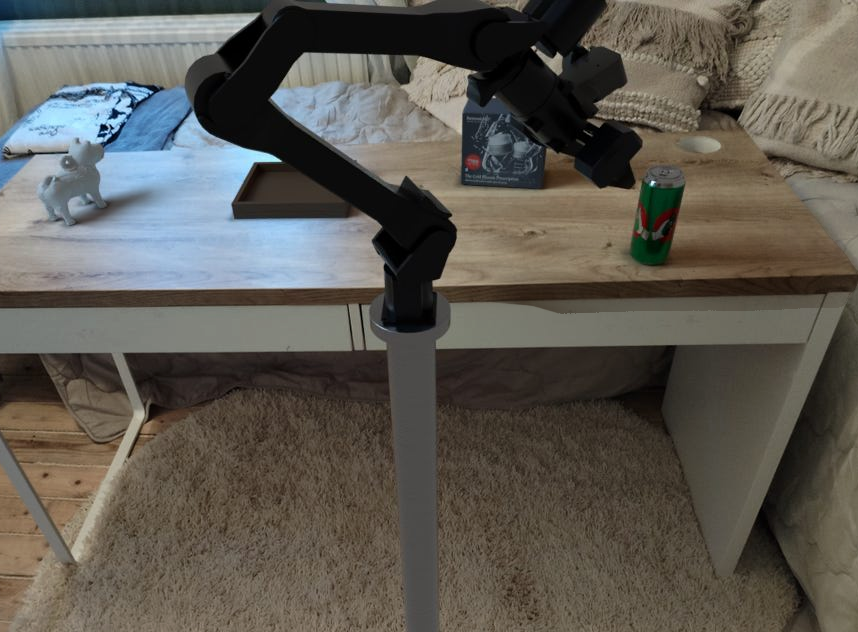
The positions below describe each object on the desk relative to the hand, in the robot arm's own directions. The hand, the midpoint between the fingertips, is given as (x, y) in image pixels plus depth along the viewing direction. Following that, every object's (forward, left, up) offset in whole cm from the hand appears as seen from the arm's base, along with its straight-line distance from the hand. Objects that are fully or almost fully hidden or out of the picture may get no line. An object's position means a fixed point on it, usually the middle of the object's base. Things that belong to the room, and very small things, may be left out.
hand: (608, 170), depth 84 cm
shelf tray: (+23, +43, -14) cm, 51 cm away
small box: (+28, +10, -14) cm, 33 cm away
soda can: (+3, -8, -14) cm, 16 cm away
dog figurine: (+19, +78, -14) cm, 82 cm away
